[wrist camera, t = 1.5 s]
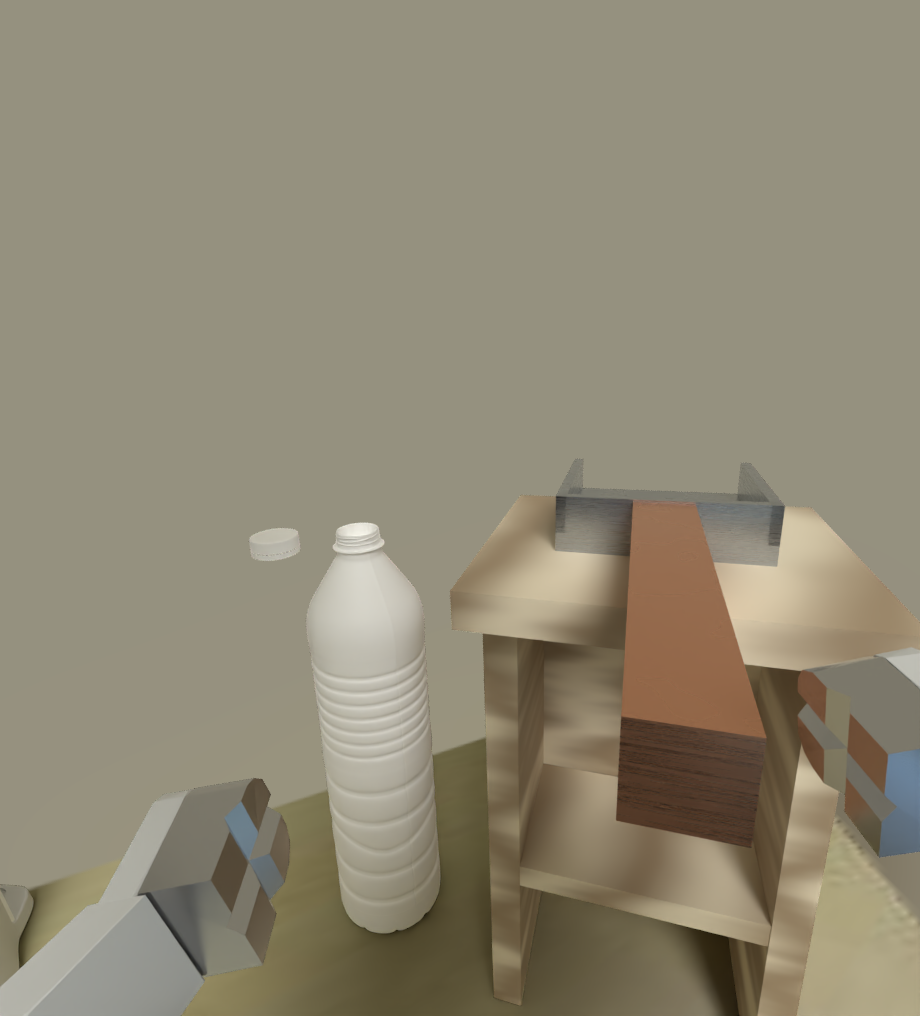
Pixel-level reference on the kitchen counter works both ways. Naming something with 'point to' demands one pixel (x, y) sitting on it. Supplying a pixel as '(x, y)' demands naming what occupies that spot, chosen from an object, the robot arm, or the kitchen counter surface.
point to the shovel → (681, 648)
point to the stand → (596, 742)
